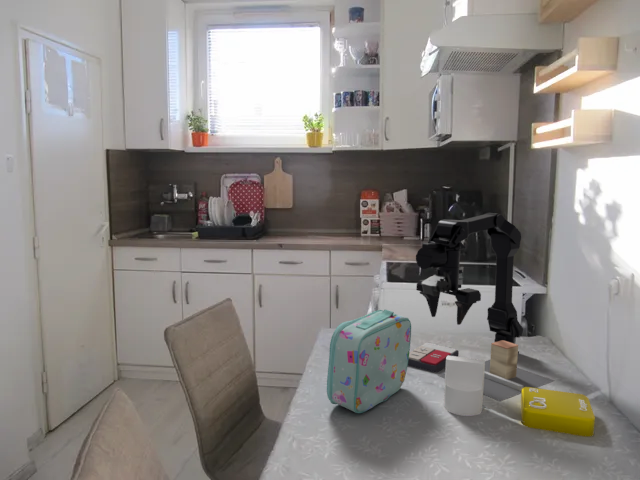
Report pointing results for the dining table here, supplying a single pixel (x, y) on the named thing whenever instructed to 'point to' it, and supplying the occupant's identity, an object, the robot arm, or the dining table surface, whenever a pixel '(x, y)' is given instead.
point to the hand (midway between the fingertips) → (445, 320)
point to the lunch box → (368, 360)
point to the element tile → (557, 411)
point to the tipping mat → (509, 383)
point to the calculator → (430, 357)
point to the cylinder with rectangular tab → (464, 385)
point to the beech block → (504, 359)
